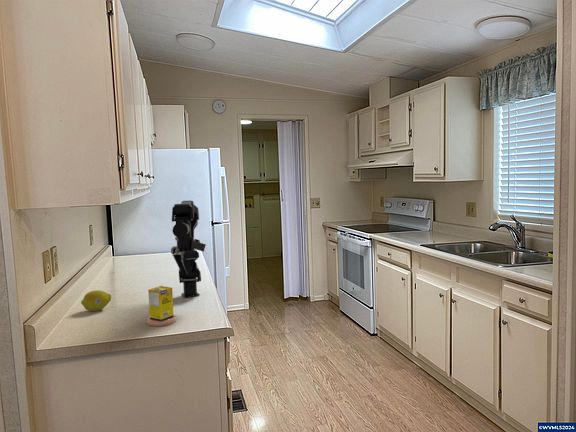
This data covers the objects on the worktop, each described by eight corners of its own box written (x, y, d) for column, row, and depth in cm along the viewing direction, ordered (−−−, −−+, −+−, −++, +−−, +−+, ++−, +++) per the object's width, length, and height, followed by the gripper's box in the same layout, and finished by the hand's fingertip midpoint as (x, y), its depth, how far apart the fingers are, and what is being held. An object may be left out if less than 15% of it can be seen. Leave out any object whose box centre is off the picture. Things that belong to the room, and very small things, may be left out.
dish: (144, 320, 152) (143, 317, 152) (171, 315, 157) (171, 312, 157) (150, 328, 143) (150, 325, 143) (179, 323, 148) (179, 319, 148)
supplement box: (174, 317, 151) (172, 287, 151) (161, 322, 146) (159, 291, 146) (162, 314, 154) (161, 285, 154) (149, 319, 149) (148, 289, 149)
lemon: (80, 315, 161) (79, 294, 160) (82, 309, 168) (81, 289, 167) (111, 311, 164) (110, 291, 164) (112, 306, 172) (111, 287, 171)
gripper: (211, 235, 165) (212, 274, 166) (195, 231, 181) (197, 267, 182) (182, 237, 159) (184, 278, 161) (169, 233, 175) (171, 270, 177)
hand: (185, 273), depth 170 cm, fingers open, 9 cm apart
